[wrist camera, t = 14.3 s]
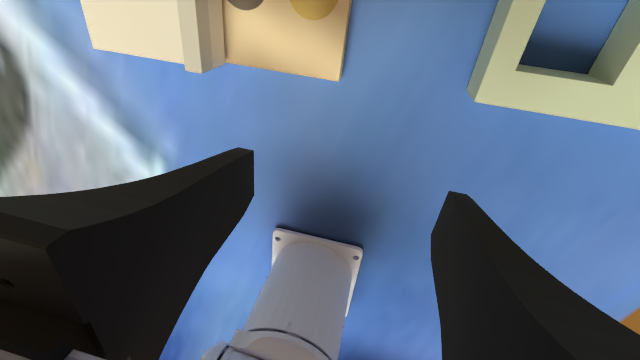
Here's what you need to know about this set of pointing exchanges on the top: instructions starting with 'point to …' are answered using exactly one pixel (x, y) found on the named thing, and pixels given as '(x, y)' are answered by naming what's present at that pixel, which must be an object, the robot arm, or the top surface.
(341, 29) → the board
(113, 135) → the top surface
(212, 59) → the lid
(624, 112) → the socket board
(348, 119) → the top surface
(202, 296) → the top surface
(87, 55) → the top surface
